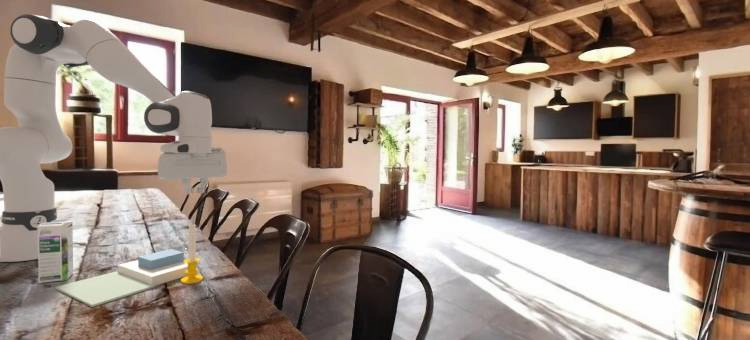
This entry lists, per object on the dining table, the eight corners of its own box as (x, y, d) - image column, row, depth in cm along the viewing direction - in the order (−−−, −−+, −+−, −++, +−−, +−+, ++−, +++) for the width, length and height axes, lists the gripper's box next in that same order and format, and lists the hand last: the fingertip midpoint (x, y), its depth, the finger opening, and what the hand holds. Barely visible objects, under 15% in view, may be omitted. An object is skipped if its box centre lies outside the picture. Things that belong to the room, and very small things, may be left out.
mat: (55, 288, 85) (55, 286, 85) (116, 273, 96) (116, 271, 96) (92, 307, 76) (92, 304, 76) (154, 287, 87) (154, 285, 87)
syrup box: (37, 284, 87) (36, 226, 86) (46, 276, 92) (45, 221, 92) (67, 280, 90) (66, 224, 89) (74, 273, 95) (73, 220, 94)
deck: (118, 273, 96) (118, 264, 95) (162, 262, 106) (162, 254, 106) (151, 286, 88) (151, 276, 88) (196, 272, 98) (196, 263, 98)
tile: (138, 265, 95) (138, 256, 95) (171, 257, 103) (171, 249, 103) (150, 270, 92) (150, 260, 92) (183, 261, 100) (183, 252, 100)
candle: (203, 275, 96) (203, 219, 96) (202, 282, 92) (203, 223, 91) (181, 278, 94) (181, 220, 93) (180, 285, 90) (180, 224, 89)
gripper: (218, 147, 115) (218, 189, 116) (154, 145, 97) (154, 195, 98) (231, 148, 112) (231, 191, 113) (168, 146, 94) (168, 197, 95)
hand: (195, 193), depth 105 cm, fingers open, 2 cm apart
